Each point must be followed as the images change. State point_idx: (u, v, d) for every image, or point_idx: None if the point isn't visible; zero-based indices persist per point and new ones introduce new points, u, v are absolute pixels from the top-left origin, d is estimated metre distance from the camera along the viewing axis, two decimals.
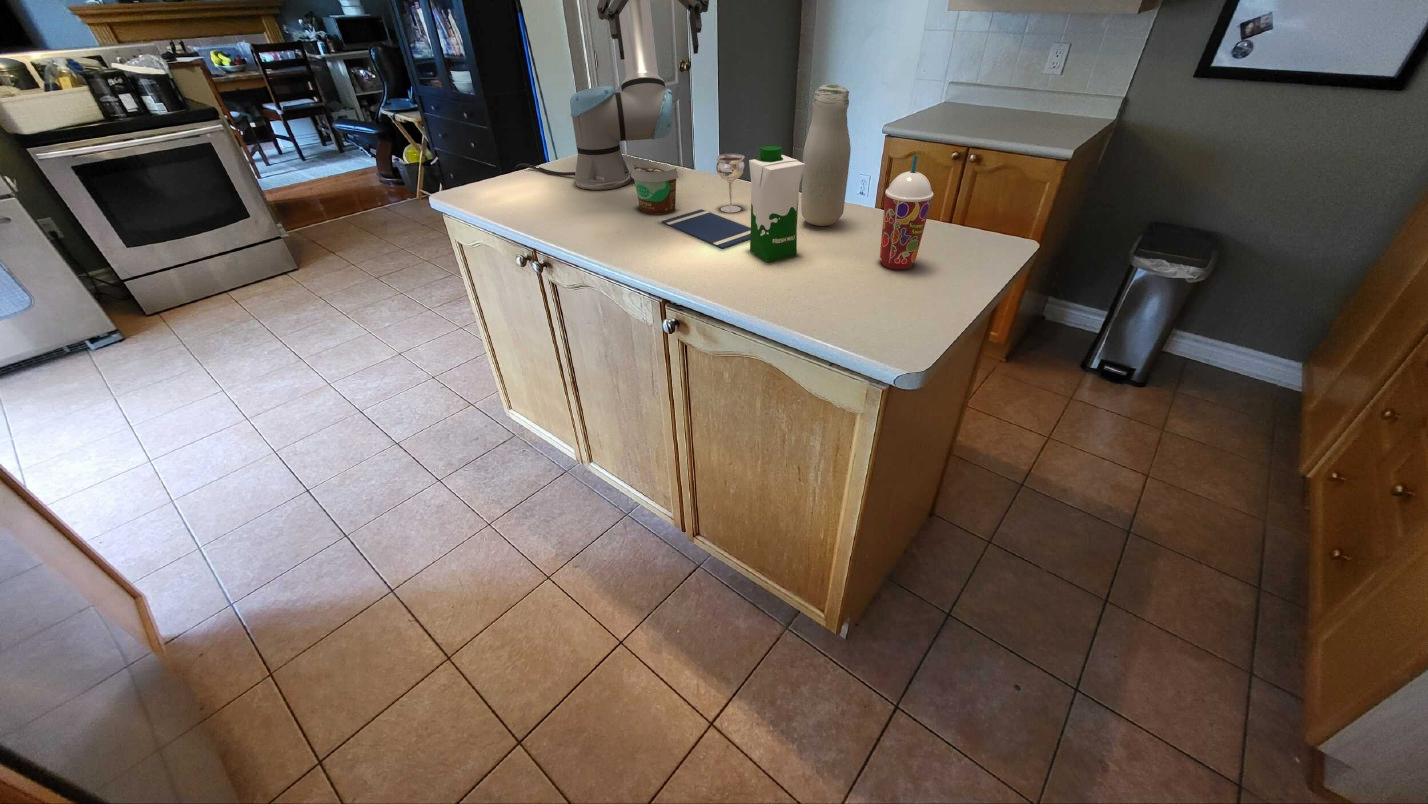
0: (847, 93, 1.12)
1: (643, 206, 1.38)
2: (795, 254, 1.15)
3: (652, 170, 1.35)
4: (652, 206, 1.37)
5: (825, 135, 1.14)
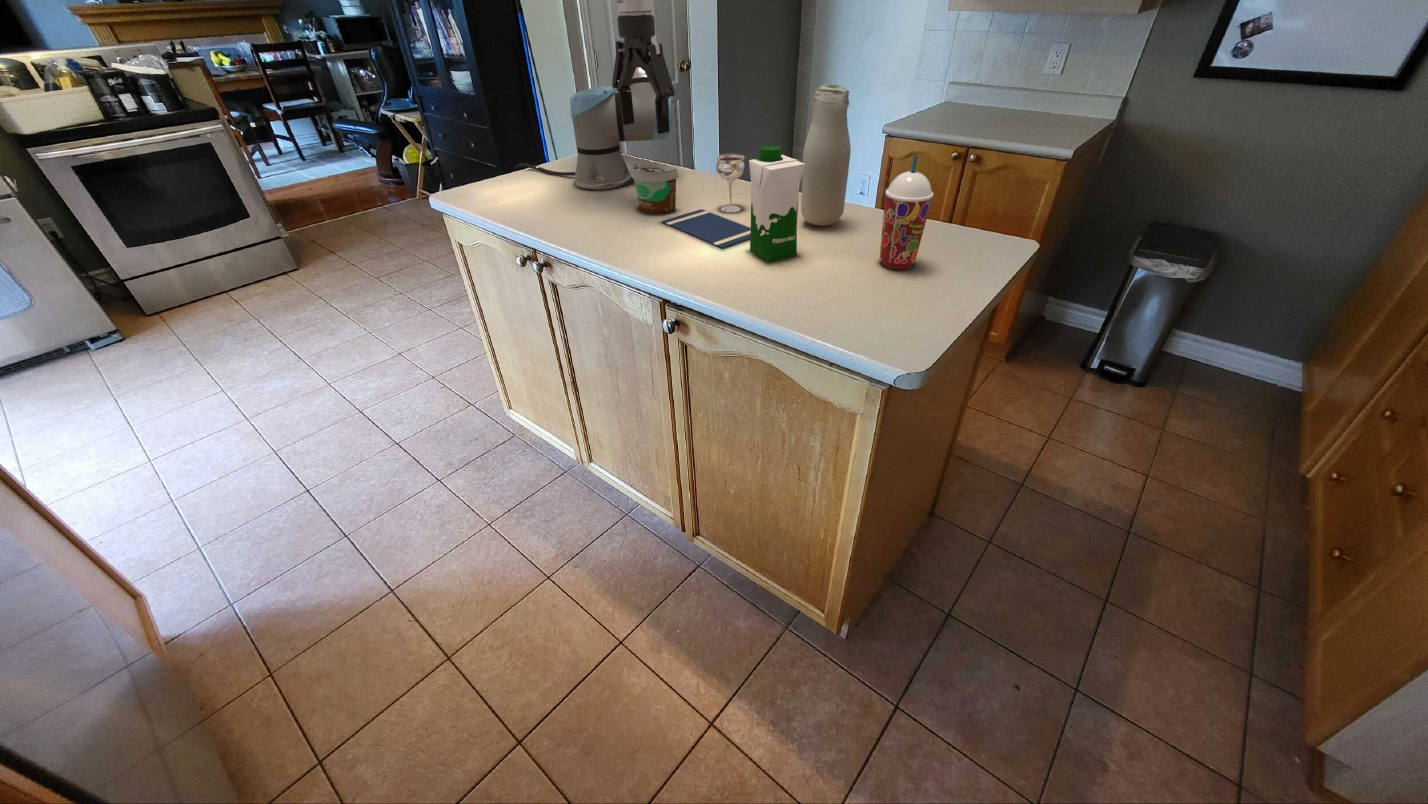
0: (847, 93, 1.12)
1: (643, 206, 1.38)
2: (795, 254, 1.15)
3: (652, 170, 1.35)
4: (652, 206, 1.37)
5: (825, 135, 1.14)
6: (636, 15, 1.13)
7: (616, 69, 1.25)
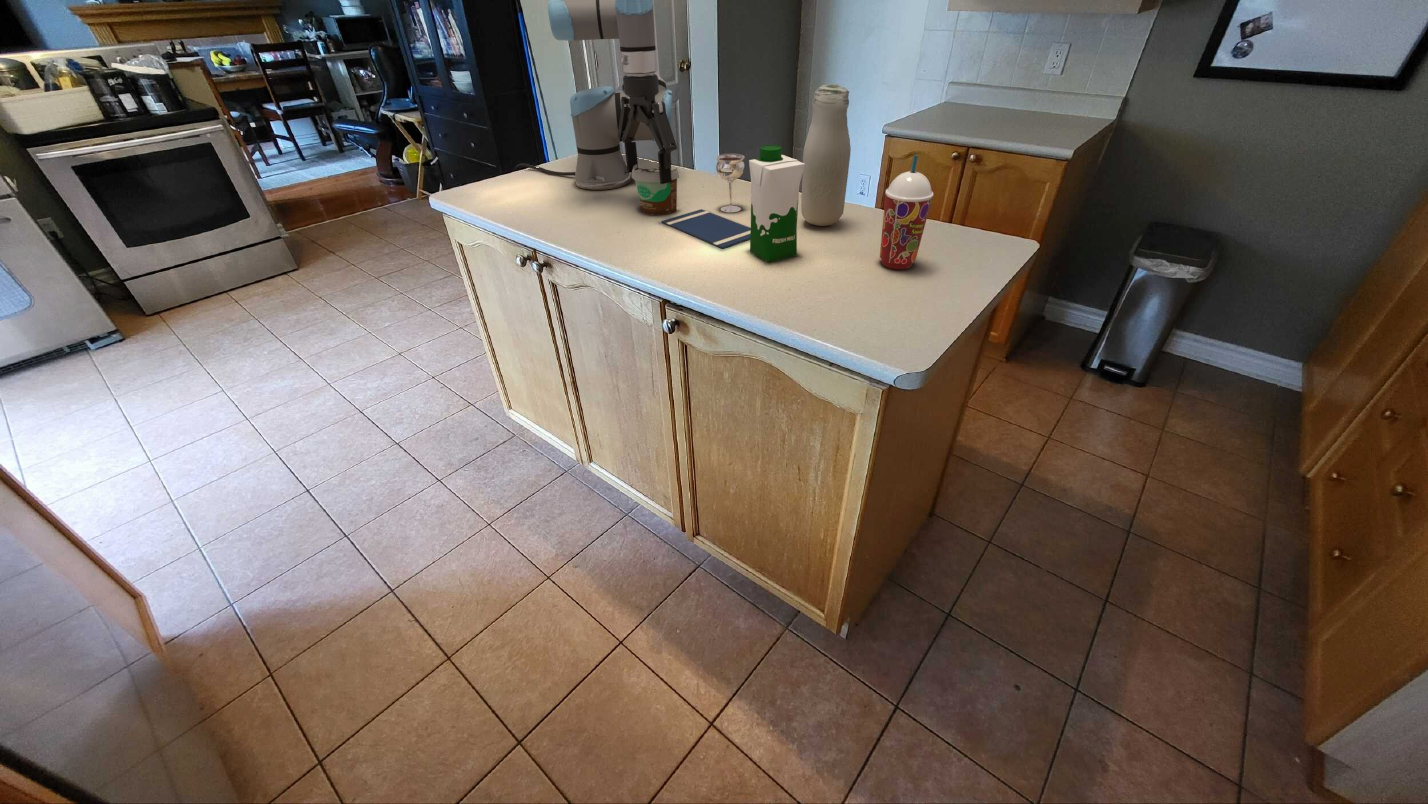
0: (847, 93, 1.12)
1: (644, 207, 1.37)
2: (795, 254, 1.15)
3: (653, 170, 1.34)
4: (653, 206, 1.36)
5: (825, 135, 1.14)
6: (641, 76, 1.19)
7: (621, 122, 1.32)
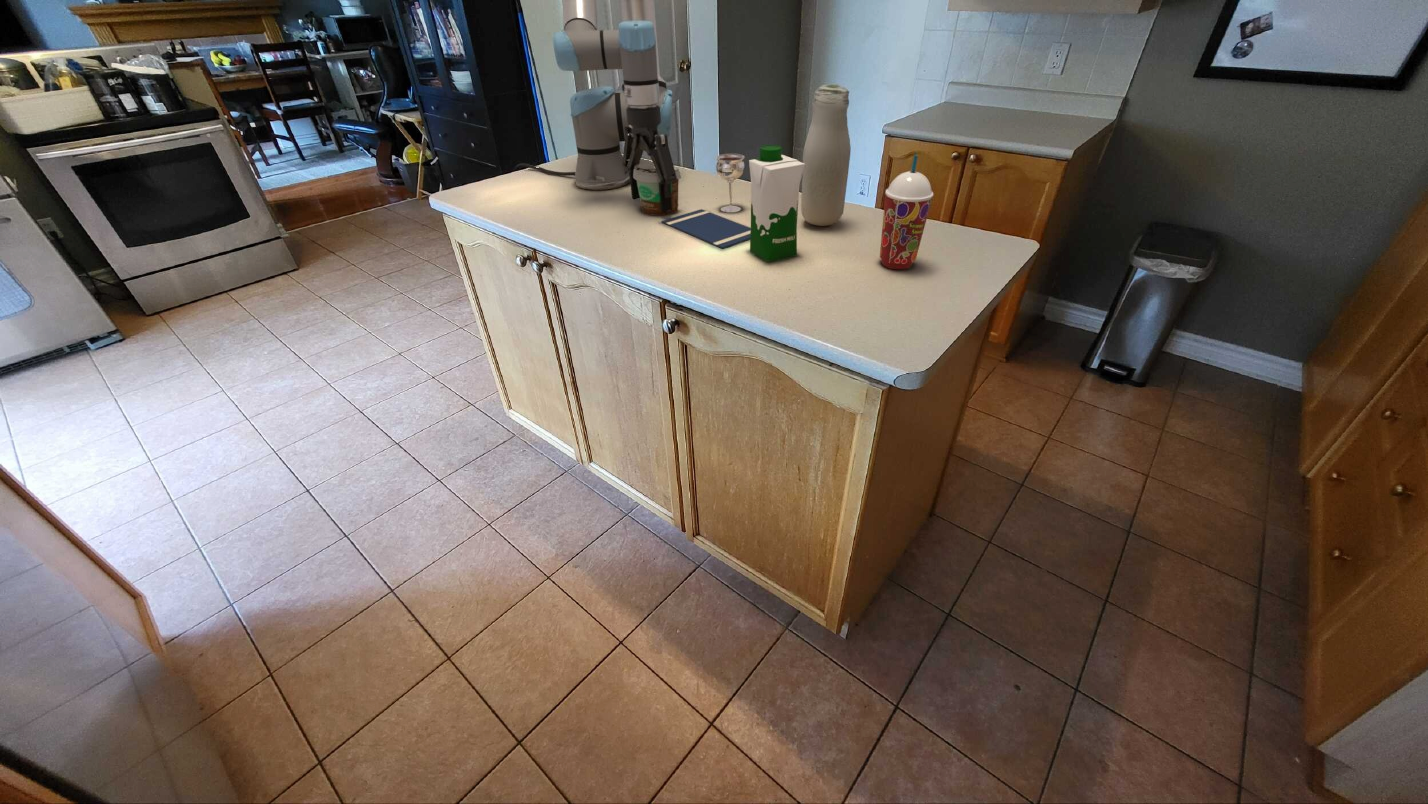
0: (847, 93, 1.12)
1: (645, 207, 1.37)
2: (795, 254, 1.15)
3: (654, 171, 1.34)
4: (654, 207, 1.36)
5: (825, 135, 1.14)
6: (643, 108, 1.23)
7: (625, 150, 1.36)
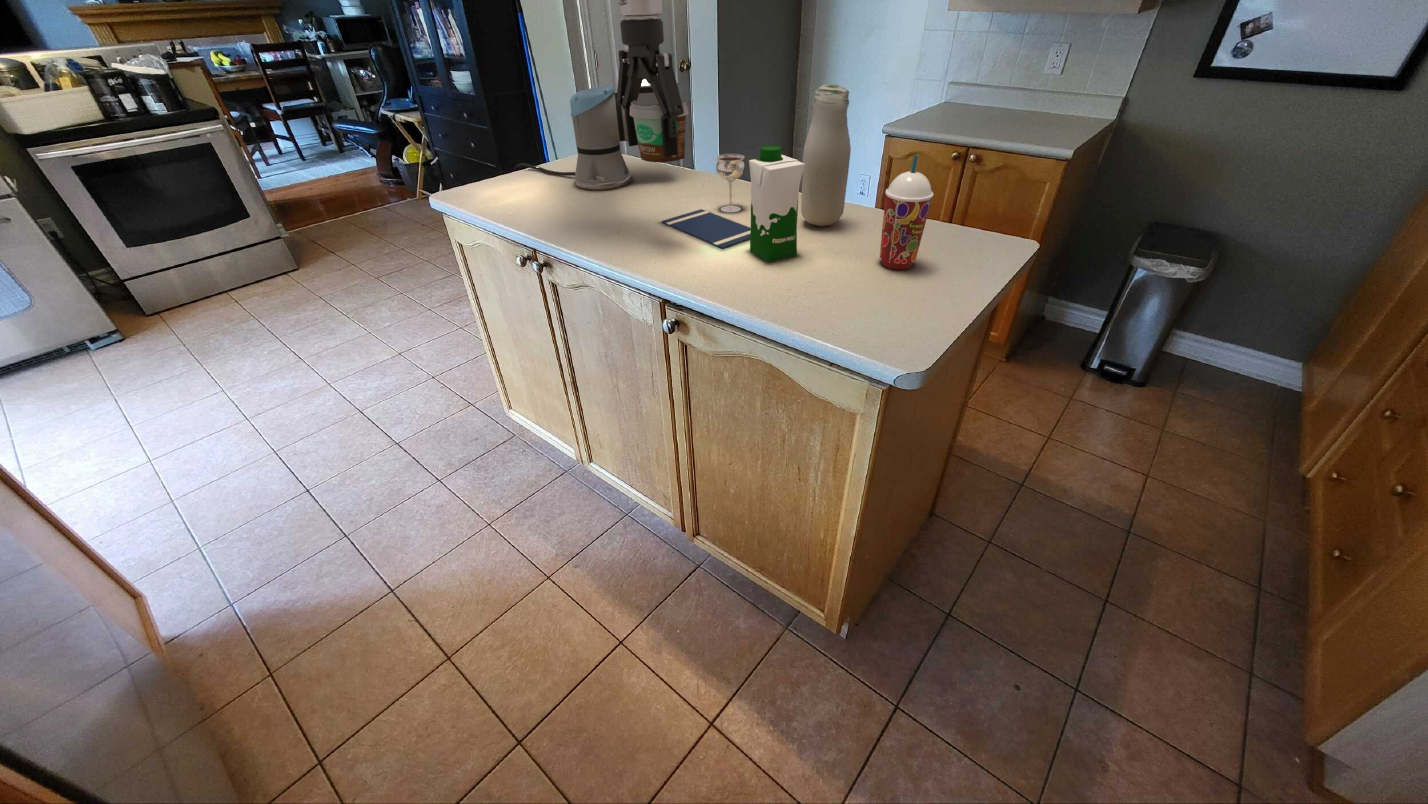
0: (847, 93, 1.12)
1: (645, 152, 1.11)
2: (795, 254, 1.15)
3: None
4: (656, 151, 1.10)
5: (825, 135, 1.14)
6: (642, 19, 0.97)
7: (620, 83, 1.10)
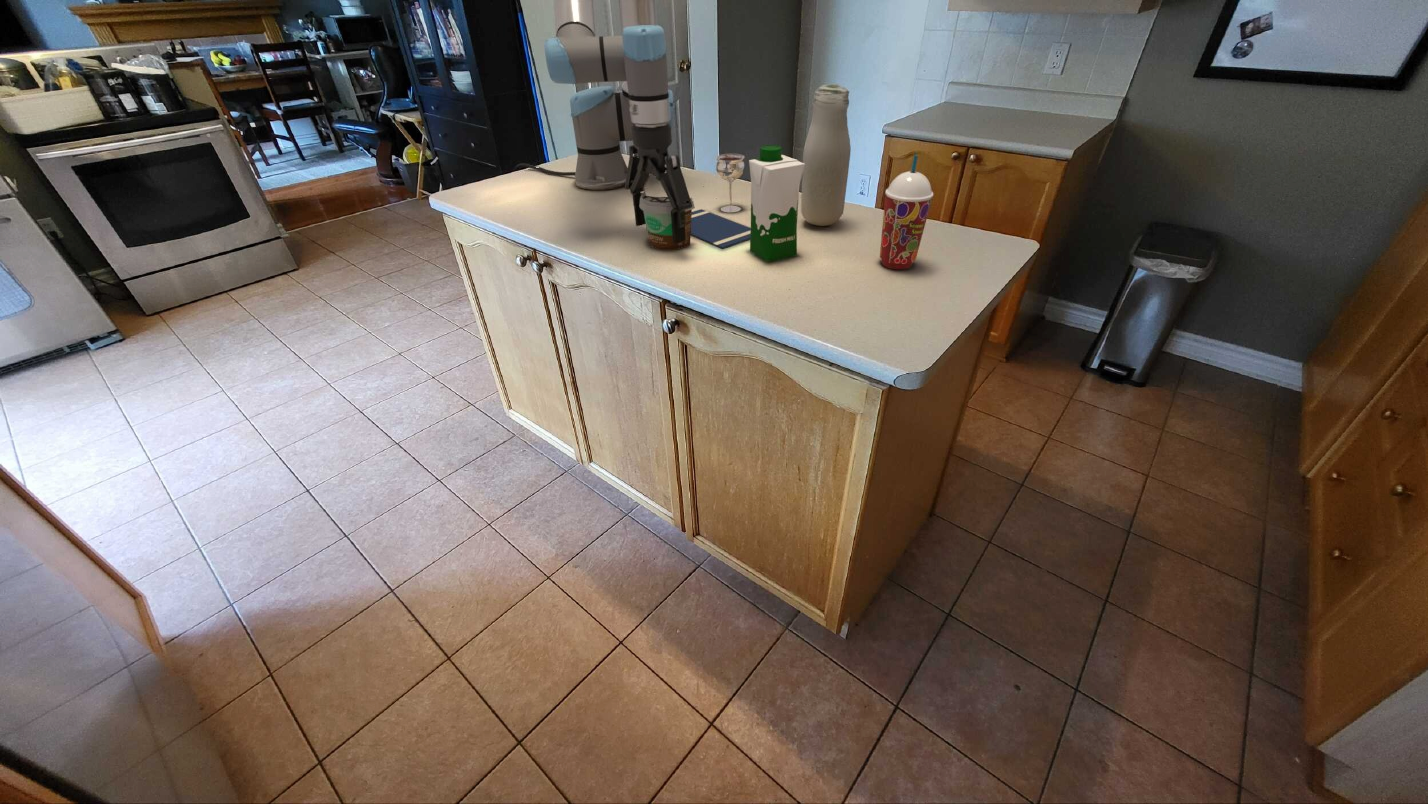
0: (847, 93, 1.12)
1: (653, 240, 1.20)
2: (795, 254, 1.15)
3: (664, 200, 1.17)
4: (663, 240, 1.19)
5: (825, 135, 1.14)
6: (652, 127, 1.05)
7: (629, 172, 1.18)
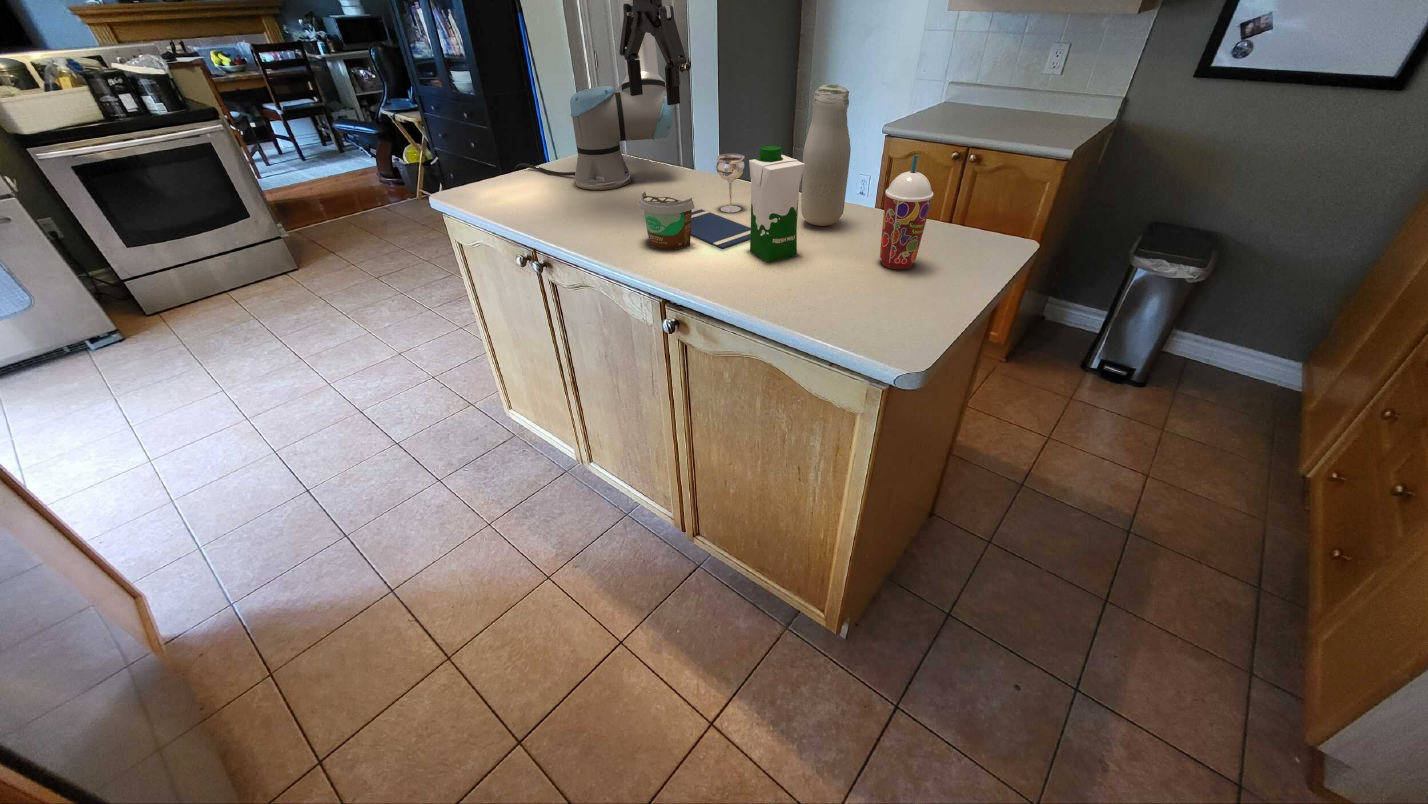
0: (847, 93, 1.12)
1: (653, 240, 1.20)
2: (795, 254, 1.15)
3: (664, 200, 1.17)
4: (663, 240, 1.19)
5: (825, 135, 1.14)
6: None
7: (624, 35, 1.17)
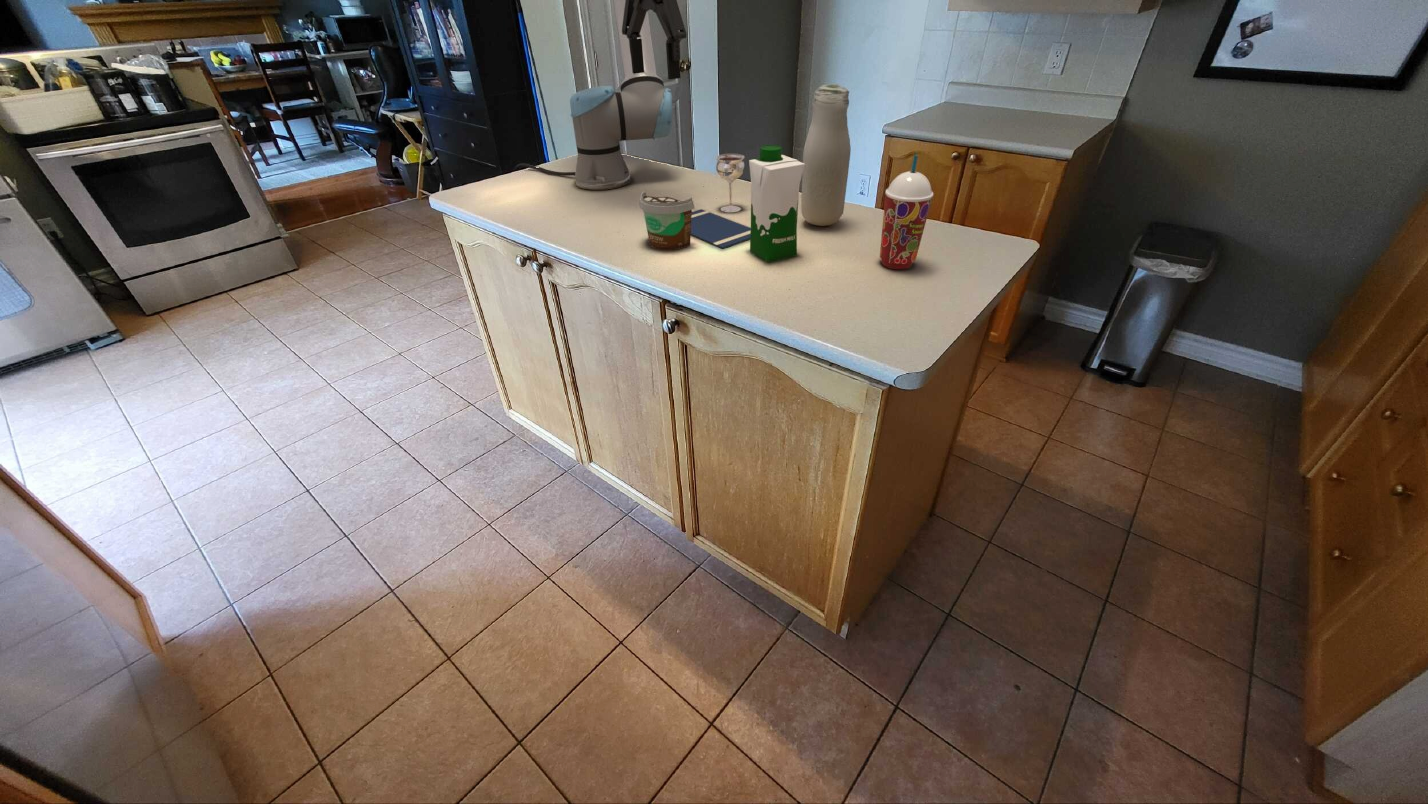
0: (847, 93, 1.12)
1: (653, 240, 1.20)
2: (795, 254, 1.15)
3: (664, 200, 1.17)
4: (663, 240, 1.19)
5: (825, 135, 1.14)
6: None
7: (626, 14, 1.21)
